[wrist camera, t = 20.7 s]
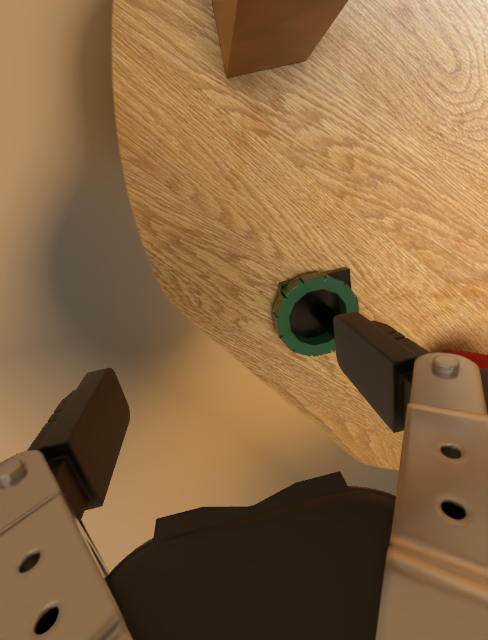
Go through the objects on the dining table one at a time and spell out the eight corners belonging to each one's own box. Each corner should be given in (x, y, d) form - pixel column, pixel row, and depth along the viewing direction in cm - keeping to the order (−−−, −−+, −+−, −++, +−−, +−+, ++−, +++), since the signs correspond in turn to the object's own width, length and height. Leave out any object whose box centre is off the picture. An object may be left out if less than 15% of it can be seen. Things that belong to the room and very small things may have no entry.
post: (288, 343, 43) (320, 400, 31) (278, 282, 40) (309, 319, 28) (351, 328, 43) (407, 379, 31) (345, 266, 40) (406, 296, 28)
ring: (279, 354, 42) (283, 363, 40) (267, 282, 38) (271, 287, 36) (352, 338, 43) (360, 345, 40) (348, 264, 39) (356, 268, 36)
